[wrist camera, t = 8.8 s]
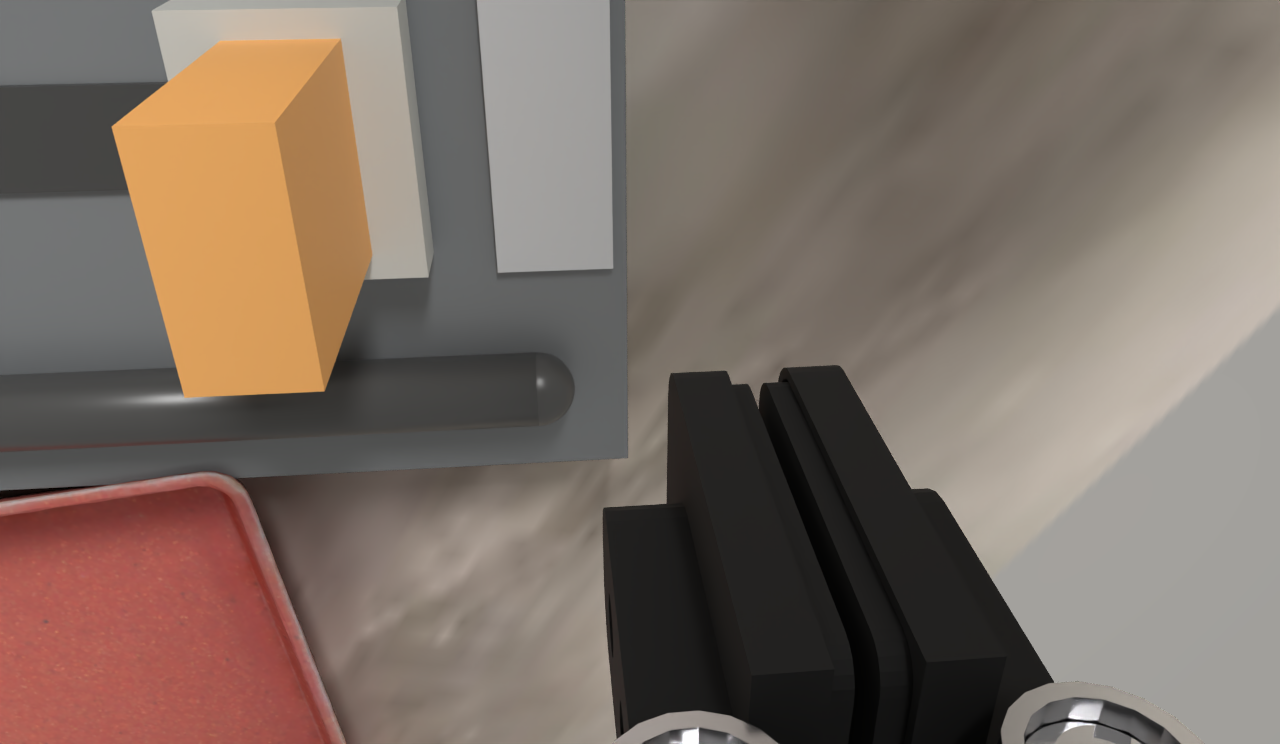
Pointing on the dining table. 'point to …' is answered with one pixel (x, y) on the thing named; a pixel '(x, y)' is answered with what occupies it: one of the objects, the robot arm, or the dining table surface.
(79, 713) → the plant saucer
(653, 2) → the dining table surface
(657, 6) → the dining table surface
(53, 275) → the switch panel
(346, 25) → the breaker lever
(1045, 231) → the dining table surface
